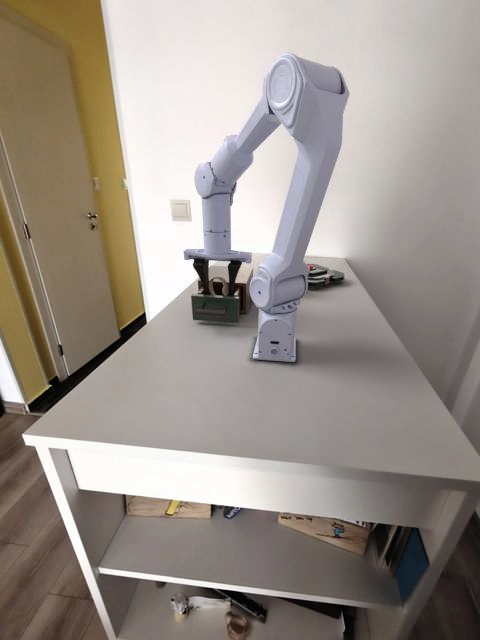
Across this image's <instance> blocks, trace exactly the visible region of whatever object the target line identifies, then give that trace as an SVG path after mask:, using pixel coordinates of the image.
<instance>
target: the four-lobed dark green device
mask: <svg viewBox="0 0 480 640" xmlns="http://www.w3.org/2000/svg"><path fill="white" fill-rule="evenodd" d="M305 263H306V264H307V265H308V267H309V268H310V271H309V274H308V288H309V287H310V288H318V287H321V286H325V285H329V284H330V283H339V282H342V281H344V280H345V273H344V272H342V271H339V270H336V269H330V268H329V267H328V266H323V265H320V264H317V263H307V262H305Z"/></svg>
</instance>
